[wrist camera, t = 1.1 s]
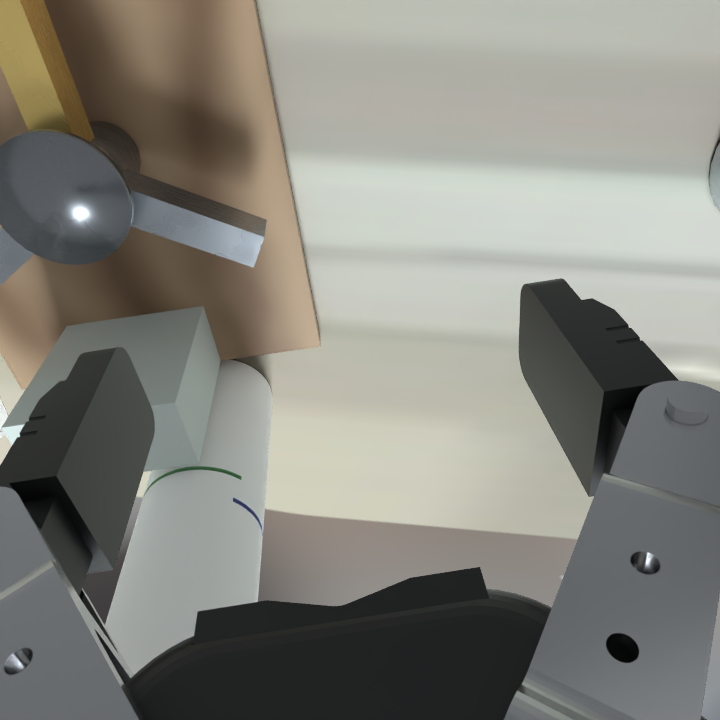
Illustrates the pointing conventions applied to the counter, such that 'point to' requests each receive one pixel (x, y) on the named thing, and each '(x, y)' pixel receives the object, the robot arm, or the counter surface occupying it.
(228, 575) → the cylindrical container
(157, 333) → the stand
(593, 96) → the counter surface
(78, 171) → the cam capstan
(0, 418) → the skyscraper
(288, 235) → the walnut board
